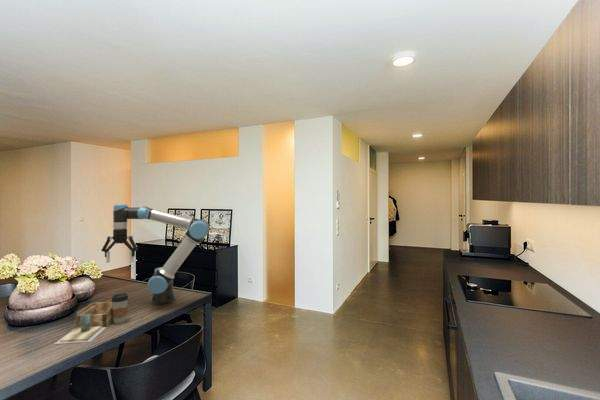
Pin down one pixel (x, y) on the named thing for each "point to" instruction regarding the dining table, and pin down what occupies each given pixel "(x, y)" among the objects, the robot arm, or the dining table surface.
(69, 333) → the mat
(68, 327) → the dining table surface
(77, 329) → the lid
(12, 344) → the dining table surface
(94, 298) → the dining table surface
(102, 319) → the box
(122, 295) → the coffee cup
